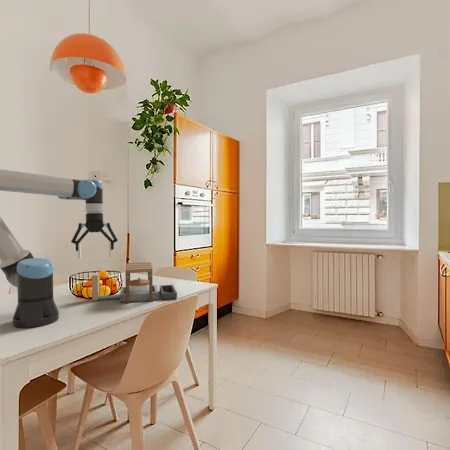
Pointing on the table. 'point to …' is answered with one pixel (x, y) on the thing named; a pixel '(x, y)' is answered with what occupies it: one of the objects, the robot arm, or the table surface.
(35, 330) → the table surface
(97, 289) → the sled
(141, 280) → the lidded jar
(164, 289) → the box
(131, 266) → the tunnel
